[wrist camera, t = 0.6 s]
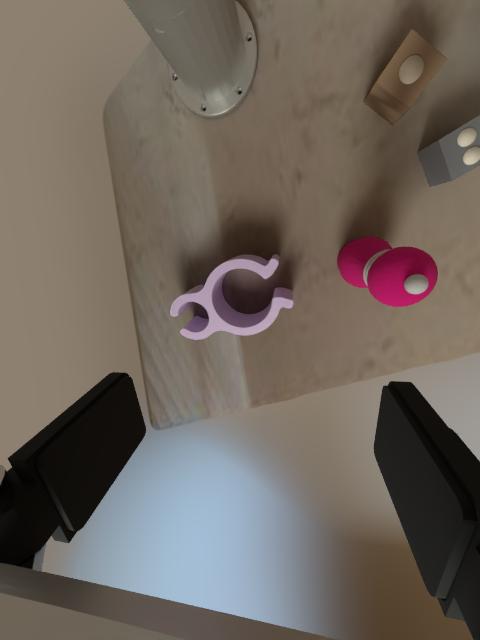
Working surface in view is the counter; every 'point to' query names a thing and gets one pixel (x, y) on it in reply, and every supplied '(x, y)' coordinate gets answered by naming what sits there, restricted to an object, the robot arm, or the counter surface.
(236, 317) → the clip
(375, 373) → the counter surface
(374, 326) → the counter surface
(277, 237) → the counter surface
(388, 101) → the walnut block
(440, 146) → the charcoal block
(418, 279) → the pepper mill
